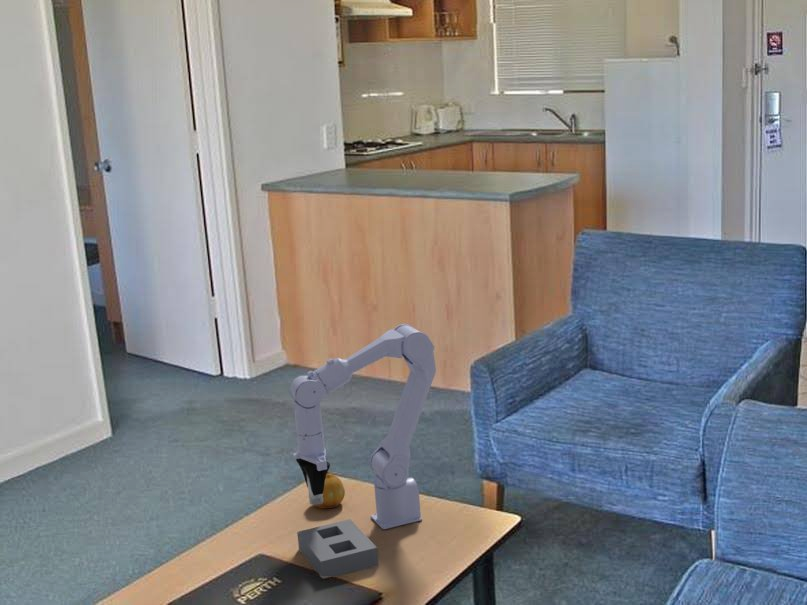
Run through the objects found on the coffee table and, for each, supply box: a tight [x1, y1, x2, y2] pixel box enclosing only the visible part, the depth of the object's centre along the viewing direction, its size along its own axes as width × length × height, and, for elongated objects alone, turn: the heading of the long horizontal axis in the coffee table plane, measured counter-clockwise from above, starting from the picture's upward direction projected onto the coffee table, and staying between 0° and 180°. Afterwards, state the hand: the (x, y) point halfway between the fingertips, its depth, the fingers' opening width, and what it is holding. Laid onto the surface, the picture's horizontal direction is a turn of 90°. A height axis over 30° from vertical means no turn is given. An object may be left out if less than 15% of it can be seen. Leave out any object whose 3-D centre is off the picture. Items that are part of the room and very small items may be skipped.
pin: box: [307, 476, 323, 506], centre depth 226 cm, size 3×3×7 cm
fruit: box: [314, 471, 346, 509], centre depth 244 cm, size 8×8×8 cm
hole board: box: [296, 518, 379, 578], centre depth 218 cm, size 12×16×4 cm
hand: (315, 491), depth 227 cm, fingers closed on pin, 3 cm apart
